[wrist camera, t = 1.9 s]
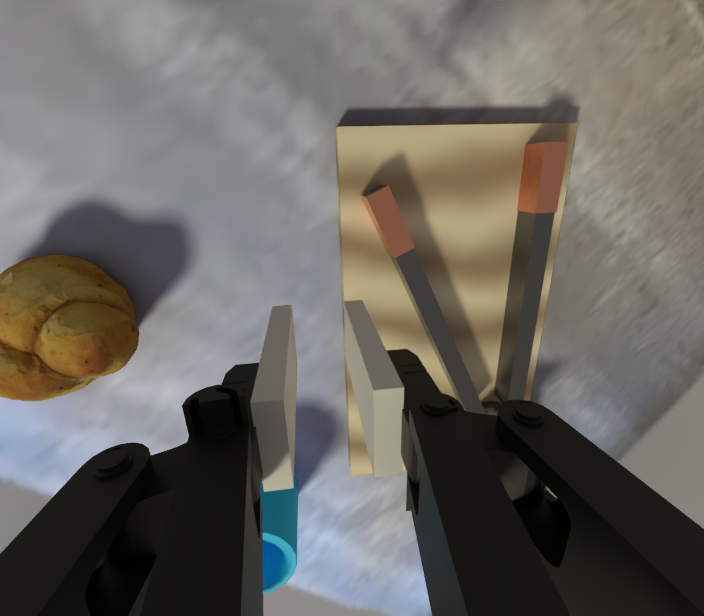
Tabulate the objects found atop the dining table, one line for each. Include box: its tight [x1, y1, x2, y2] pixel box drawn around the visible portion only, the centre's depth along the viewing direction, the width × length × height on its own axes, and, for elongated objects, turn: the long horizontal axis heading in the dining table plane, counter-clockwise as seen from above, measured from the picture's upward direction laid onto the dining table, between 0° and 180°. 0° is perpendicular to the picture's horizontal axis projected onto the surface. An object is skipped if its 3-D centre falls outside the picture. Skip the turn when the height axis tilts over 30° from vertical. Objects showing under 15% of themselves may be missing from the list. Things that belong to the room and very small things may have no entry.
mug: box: [260, 475, 298, 594], centre depth 34 cm, size 12×8×8 cm
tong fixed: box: [482, 141, 569, 415], centre depth 32 cm, size 28×4×2 cm, turn 2°
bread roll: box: [0, 254, 139, 401], centre depth 26 cm, size 13×10×8 cm
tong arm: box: [361, 184, 486, 414], centre depth 30 cm, size 23×2×2 cm, turn 27°
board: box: [335, 123, 578, 477], centre depth 33 cm, size 33×19×2 cm, turn 2°
